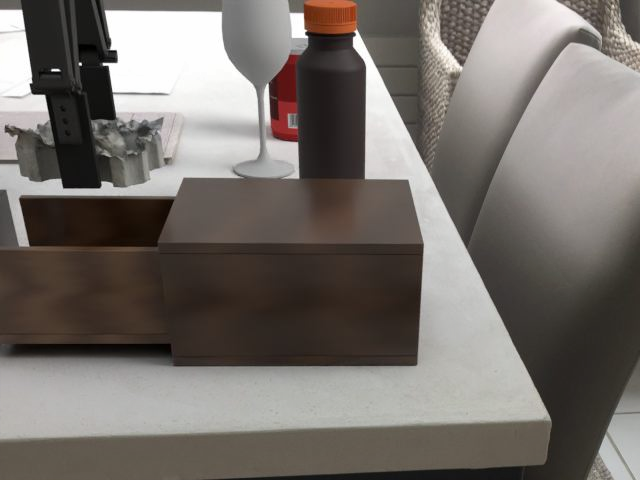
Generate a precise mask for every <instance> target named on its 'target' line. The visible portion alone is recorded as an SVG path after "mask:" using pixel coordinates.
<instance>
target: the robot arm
mask: <svg viewBox="0 0 640 480" xmlns="http://www.w3.org/2000/svg"><path fill="white" fill-rule="evenodd" d="M104 4H105V3H104V0H20V5H21V13H22V19H23V26H24V32H25V40H26V46H27V53H28V59H29V66H30V70H31V71H30V73H31V82H30V83H29V84H28V85H29V89H30V93H31V94H32V95H33V96H44V98H45V103H46V108H47V113H48V118H49V119H48V120H50V124H51V129H52V134H53V139H54V144H55V150H56V155H57V160H58V165H59V170H60V176H61V179H60V180H61V186H62V189H64V190H65V189H67V190H72V189H73V190H74V189H75V190H77V189H78V190H79V189H80V190H81V189H82V190H84V189H85V190H86V189H88V190H90V189H91V190H93V189H98V190H100V189H101V188H102V186H103V184H102V182H101V177H100V171H99V165H98V159H97V153H96V147H95V141H94V135H93V129H92V123H91V120H98V119H103V120H115V119H116V118H117V111H116V105H115V98H114V92H113V84H112V79H111V71H110V66H109V65H104V64H118V63H119V56H118V55H119V53H118V50H117V49H111V48H112V38H111V37H110V36H111V35H110V32H109V25H108V21H107V14H106V9H105V5H104Z"/></svg>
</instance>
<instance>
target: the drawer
mask: <svg viewBox="0 0 640 480" xmlns="http://www.w3.org/2000/svg"><path fill="white" fill-rule="evenodd" d="M175 198H176V195H77V194H75V195H72V194H71V195H69V194H68V195H64V194H63V195H60V194H21V195H20V196H19V197H18V200H19V205H20V210H21V215H22V219H23V223H24V229H25V233H26V238H27V242H28V246H26V245H25V246H22V245H21V246H20V244H19V239H18V236H17V235H18V234H17V231H16V227H15V223H14V222H15V221H14V218H13V213H12V209H11V204H10V200H9V196H8V191H7V189H0V345H9V344H10V345H17V344H18V345H51V344H52V345H55V344H56V345H60V344H61V345H67V344H68V345H69V344H70V345H72V344H73V345H77V344H78V345H80V344H81V345H82V344H83V345H84V344H85V345H86V344H88V345H89V344H90V345H91V344H92V345H93V344H96V345H98V344H99V345H100V344H102V345H103V344H108V345H109V344H111V345H113V344H116V345H117V344H119V345H120V344H125V345H127V344H132V345H133V344H137V345H139V344H141V345H142V344H144V345H147V344H149V345H150V344H157V345H158V344H159V345H160V344H168V345H169V344H170V345H171V342H170V334H169V327H168V319H167V311H166V304H165V296H164V289H163V281H162V273H161V266H160V258H159V251H158V244H157V242H158V240H159V237H160V235H161V232H162V230H163V228H164V225H165V223H166V220H167V218H168V215H169V213H170V210H171V208H172V205H173V203H174V200H175Z"/></svg>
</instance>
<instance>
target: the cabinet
mask: <svg viewBox="0 0 640 480" xmlns="http://www.w3.org/2000/svg"><path fill="white" fill-rule="evenodd" d="M411 189H412V188H411V184H410V180H409V179H405V178H404V179H402V178H401V179H394V178H393V179H391V178H389V179H388V178H387V179H386V178H365V179H299V178H295V177H294V178H289V177H288V178H286V177H281V178H247V177H185V176H184V177H183V178H182V180H181V183H180V185H179V187H178V190H177V193H176V195H175V196H176V198H175V200H174V203H173V205H172V208H171V210H170V213H169V215H168V218H167V220H166V223H165V225H164V228H163V230H162V232H161V235H160V237H159V240H158V242H157V244H158V251H159V258H160V266H161V273H162V281H163V289H164V296H165V304H166V311H167V319H168V327H169V334H170V342H171V344H170V349H171V356H172V364H173V366H176V367H177V366H178V367H180V366H181V367H183V366H184V367H186V366H188V367H193V366H195V367H196V366H201V367H202V366H204V367H206V366H209V367H210V366H211V367H213V366H219V367H220V366H417V365H418V362H419V346H420V345H419V343H420V327H421V326H420V325H421V324H420V323H421V309H422V307H421V306H422V288H423V272H424V271H423V270H424V254H425V253H424V252H425V250H424V249H425V242H424V239H423V234H422V231H421V225H420V221H419V218H418V213H417V209H416V205H415V201H414V197H413V193H412V190H411Z"/></svg>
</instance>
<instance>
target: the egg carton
mask: <svg viewBox="0 0 640 480" xmlns="http://www.w3.org/2000/svg"><path fill="white" fill-rule="evenodd" d="M116 117H117V116H116ZM164 118H165V117H164V116H161V117H159V118H157V119H154V120H151V121H149V120H147V119H143V120H142V121H141V122H138V121H136V120H135V119H133V118H132V119H130V120H129V121H125V120H124V119H123V118H121V117H120V116H118V117H117V118H116V119H115V120H103V119H98V120H91V123H92V129H93V135H94V141H95V147H96V153H97V159H98V165H99V171H100V177H101V183H102V182H107V183H110V184H112V187H113V188H121V189H126V188H128V187H131V186H136V185H137V186H138V185H142V184H145V183H147V182H148V181H151V175H150V174H151V173H150V172H152V171H154V170H158V169H162V168H163V167H165V165H166V163H165V158H164V157H165V155H164V150H163V148H164V147H163V140H162V136H161V134H160V133H162V130H163V124H164ZM159 132H160V133H159ZM4 134H8V135H9V136H10V137H11V138H14V137H15V136H17V138H16V141H15V143H14V147H15V151H16V158H17V163H18V167H19V172H20V176H21V177H24V178H28V180H29V181H30V182H34V183H43V182H46V181H50V180H61V176H60V170H59V165H58V160H57V155H56V150H55V144H54V139H53V134H52V129H51V124H50V119H48V120H47V121H46V122H45V123H44V124H42V123H37V124H36V128H35V130H34V129H32V128H30V127H29V128H21V127H17V126H16V125H10V123H8V124H5V125H4Z"/></svg>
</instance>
